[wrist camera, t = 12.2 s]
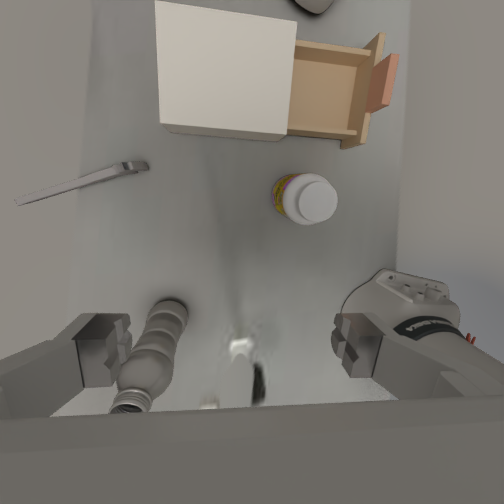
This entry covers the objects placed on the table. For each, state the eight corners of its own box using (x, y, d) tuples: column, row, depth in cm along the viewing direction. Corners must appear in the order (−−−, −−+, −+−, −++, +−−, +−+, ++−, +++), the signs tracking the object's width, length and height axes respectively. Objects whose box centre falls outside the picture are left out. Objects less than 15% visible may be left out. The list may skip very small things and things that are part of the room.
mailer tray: (360, 57, 34) (407, 13, 25) (345, 149, 38) (382, 139, 29) (249, 42, 32) (258, -12, 23) (244, 140, 36) (250, 126, 27)
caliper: (147, 162, 36) (131, 158, 30) (150, 169, 36) (135, 167, 30) (16, 199, 35) (-27, 203, 29) (20, 206, 36) (-22, 211, 30)
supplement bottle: (282, 167, 38) (310, 160, 25) (316, 186, 39) (357, 188, 27) (263, 204, 39) (280, 215, 27) (296, 222, 40) (327, 239, 28)
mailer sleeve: (285, 49, 33) (297, 21, 27) (277, 141, 36) (286, 134, 31) (168, 33, 31) (154, 0, 25) (171, 132, 34) (160, 122, 29)
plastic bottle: (152, 294, 41) (88, 391, 22) (190, 297, 42) (161, 391, 23) (152, 326, 43) (93, 440, 24) (189, 327, 44) (161, 438, 25)
